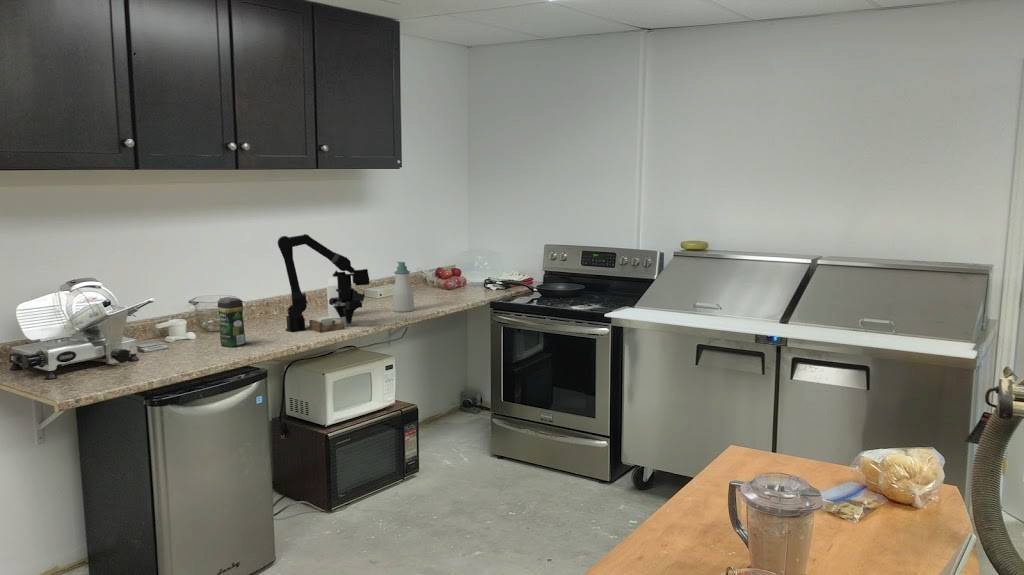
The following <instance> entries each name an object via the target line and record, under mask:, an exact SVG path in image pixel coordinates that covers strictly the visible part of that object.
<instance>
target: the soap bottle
mask: <svg viewBox="0 0 1024 575" xmlns="http://www.w3.org/2000/svg"><path fill="white" fill-rule="evenodd" d="M396 264H398V266H396V270H395V271H393V273H394V276H395V281H394V288H393V292H392V309H393V312H396V313H408V312H412V311H414V310H415V299H414V298H415V297H414V292H413V289H412V284H411V281H410V273H411V271H410V270H408V267H407V266H406V262H405V261H397V262H396Z"/></svg>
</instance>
